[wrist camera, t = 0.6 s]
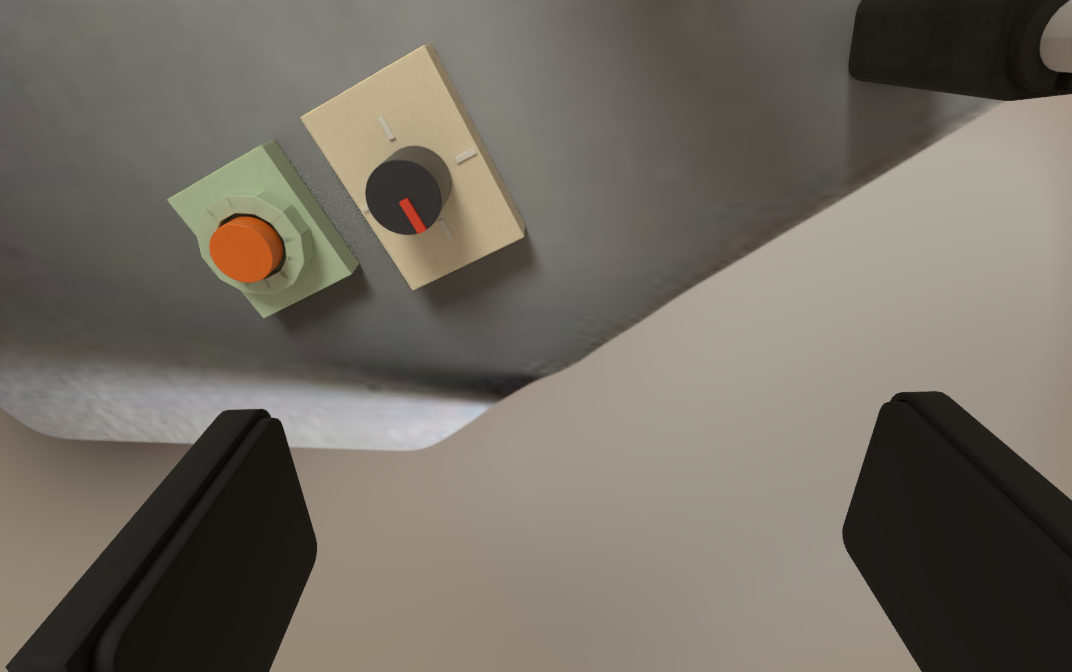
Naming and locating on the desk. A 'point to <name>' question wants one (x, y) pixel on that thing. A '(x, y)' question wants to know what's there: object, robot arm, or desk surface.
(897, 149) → the desk surface
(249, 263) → the button
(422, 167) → the knob
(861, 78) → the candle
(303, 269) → the button block
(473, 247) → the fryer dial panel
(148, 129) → the desk surface
